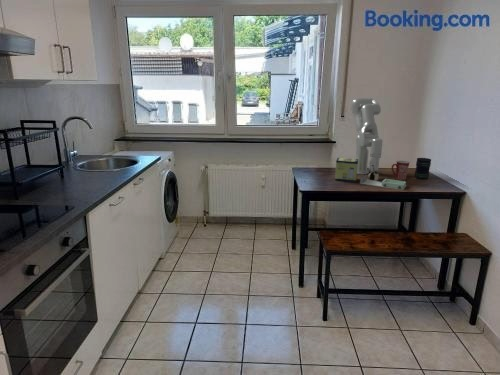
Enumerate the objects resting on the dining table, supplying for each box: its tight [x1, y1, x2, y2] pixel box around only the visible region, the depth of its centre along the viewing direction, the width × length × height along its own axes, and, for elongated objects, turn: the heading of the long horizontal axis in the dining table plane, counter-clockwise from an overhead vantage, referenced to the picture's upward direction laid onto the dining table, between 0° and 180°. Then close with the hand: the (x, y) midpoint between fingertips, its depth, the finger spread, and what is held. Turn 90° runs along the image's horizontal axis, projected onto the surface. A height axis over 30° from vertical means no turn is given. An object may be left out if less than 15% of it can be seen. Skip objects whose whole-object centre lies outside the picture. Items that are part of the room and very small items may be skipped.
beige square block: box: [367, 173, 379, 181], centre depth 256 cm, size 6×6×4 cm
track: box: [359, 174, 407, 191], centre depth 242 cm, size 30×12×4 cm, turn 56°
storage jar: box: [414, 157, 432, 181], centre depth 257 cm, size 10×10×15 cm
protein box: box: [334, 157, 358, 183], centre depth 254 cm, size 10×16×16 cm
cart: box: [381, 178, 407, 190], centre depth 238 cm, size 14×12×3 cm
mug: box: [391, 160, 411, 181], centre depth 255 cm, size 13×9×14 cm
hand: (373, 178), depth 256 cm, fingers closed on beige square block, 6 cm apart
